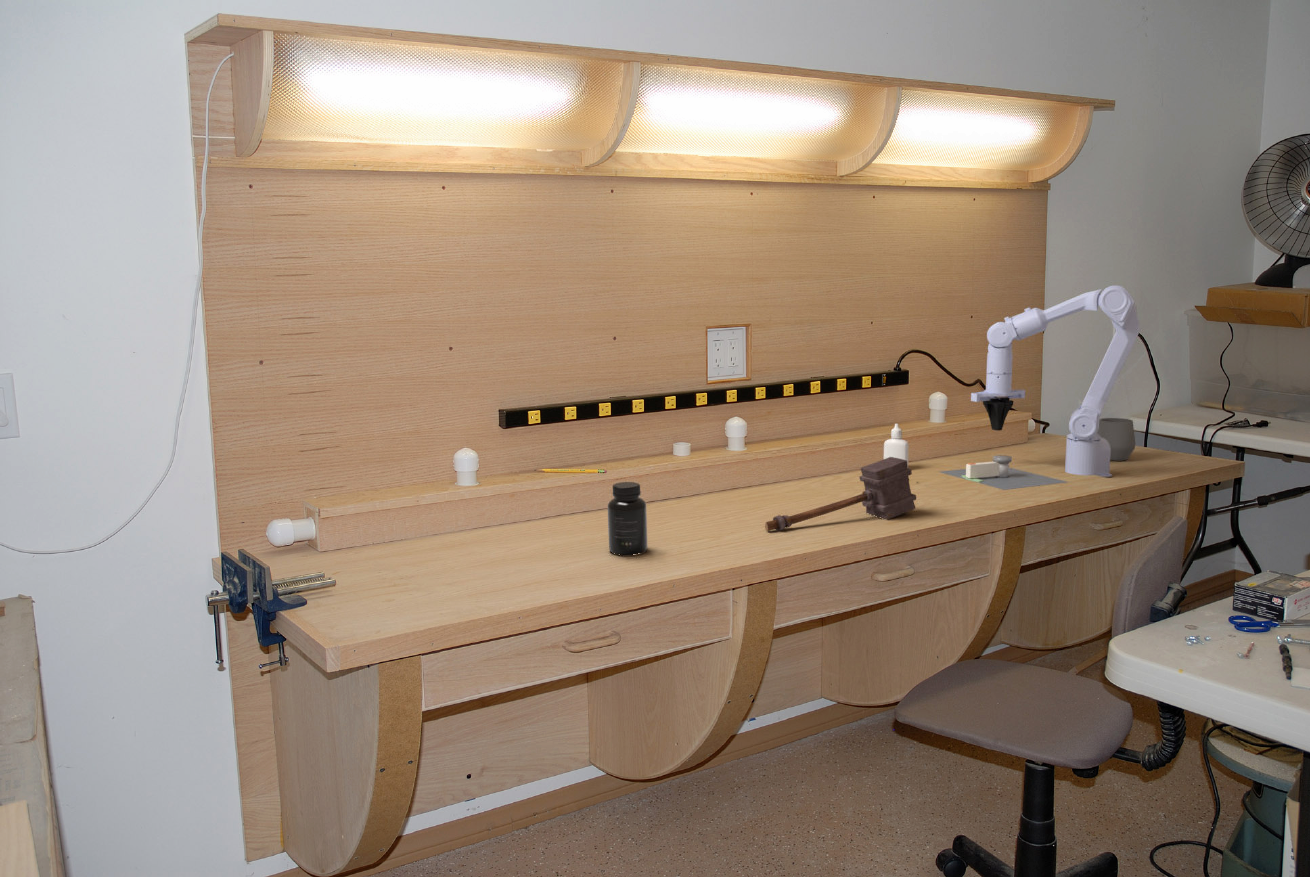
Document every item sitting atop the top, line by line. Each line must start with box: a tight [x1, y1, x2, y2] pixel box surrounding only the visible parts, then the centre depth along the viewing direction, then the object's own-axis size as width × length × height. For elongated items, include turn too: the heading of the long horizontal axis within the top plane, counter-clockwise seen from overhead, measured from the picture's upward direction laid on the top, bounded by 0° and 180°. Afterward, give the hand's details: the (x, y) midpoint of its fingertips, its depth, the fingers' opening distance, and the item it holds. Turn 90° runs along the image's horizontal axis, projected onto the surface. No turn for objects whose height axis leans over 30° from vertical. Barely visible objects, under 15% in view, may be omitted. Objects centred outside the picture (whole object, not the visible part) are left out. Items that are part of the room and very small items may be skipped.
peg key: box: [965, 454, 1013, 478], centre depth 225 cm, size 11×4×4 cm, turn 108°
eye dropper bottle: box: [883, 423, 909, 465], centre depth 236 cm, size 4×6×12 cm
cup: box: [1097, 417, 1136, 462], centre depth 249 cm, size 10×9×10 cm
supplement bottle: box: [607, 481, 648, 556], centre depth 173 cm, size 7×7×12 cm
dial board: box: [939, 467, 1068, 491], centre depth 226 cm, size 18×22×1 cm
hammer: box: [764, 457, 917, 532], centre depth 192 cm, size 7×33×10 cm, turn 116°
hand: (996, 429), depth 237 cm, fingers closed
